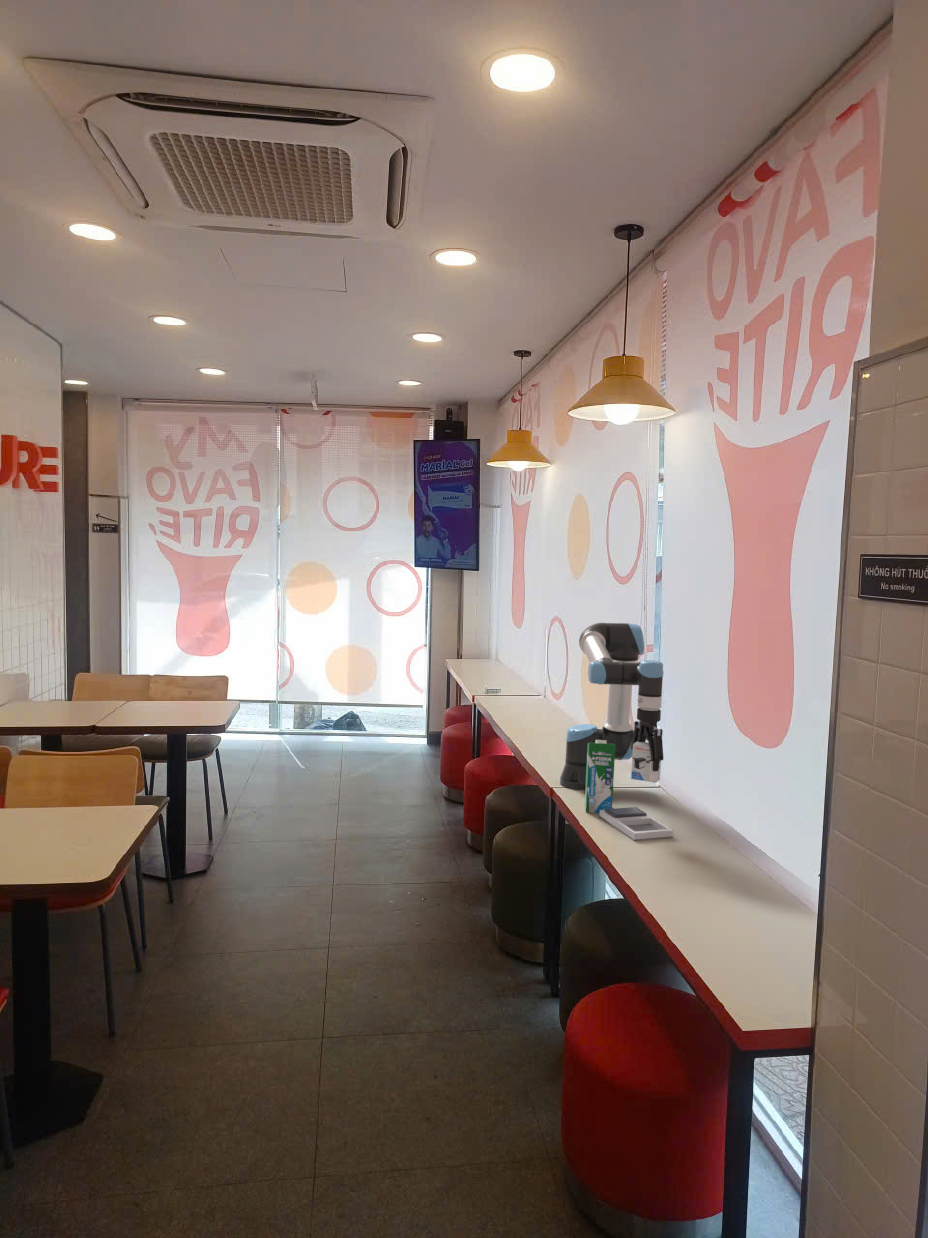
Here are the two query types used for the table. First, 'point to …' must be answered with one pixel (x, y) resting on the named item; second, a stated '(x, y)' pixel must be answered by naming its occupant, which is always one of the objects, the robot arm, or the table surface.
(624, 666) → the robot arm
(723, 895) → the table surface
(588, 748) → the milk carton
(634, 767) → the ink box
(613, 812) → the phone slab
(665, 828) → the socket plate
